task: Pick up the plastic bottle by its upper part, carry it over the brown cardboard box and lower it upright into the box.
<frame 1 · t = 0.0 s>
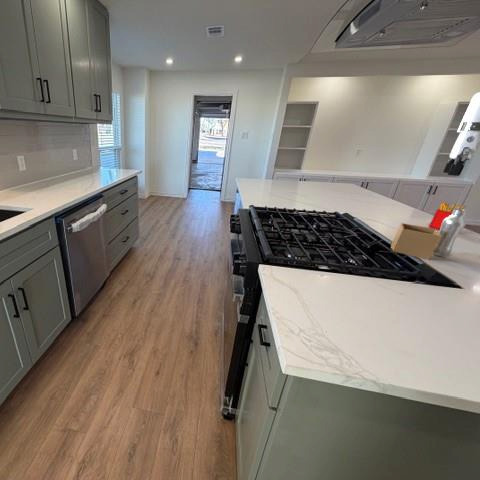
hand: (450, 174, 103), 33 cm above the countertop, tool pointing down, fingers open, 9 cm apart
bottle box: (407, 254, 108), on the countertop
french fries container: (440, 229, 140), on the countertop
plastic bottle: (436, 255, 109), on the countertop
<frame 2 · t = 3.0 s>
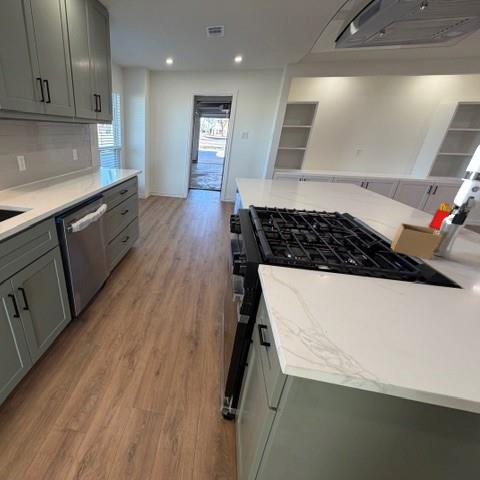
hand: (454, 221, 102), 15 cm above the countertop, tool pointing down, fingers closed on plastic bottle, 6 cm apart
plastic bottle: (436, 255, 109), on the countertop, touching gripper
everything else where it was.
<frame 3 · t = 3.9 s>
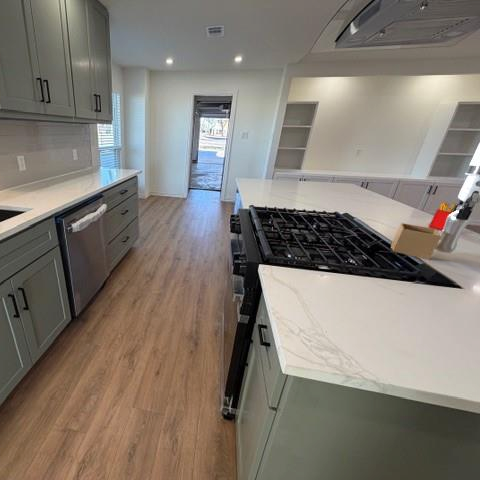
hand: (459, 217, 101), 17 cm above the countertop, tool pointing down, fingers closed on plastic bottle, 6 cm apart
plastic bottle: (441, 251, 107), point 2 cm above the countertop, touching gripper
everything else where it was.
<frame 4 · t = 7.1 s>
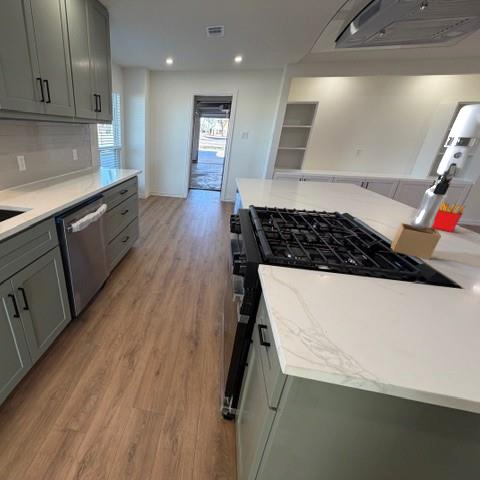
hand: (437, 192, 98), 27 cm above the countertop, tool pointing down, fingers closed on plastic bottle, 6 cm apart
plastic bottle: (418, 229, 104), point 11 cm above the countertop, touching gripper
everything else where it was.
when the fingers open (16 cm above the countertop, at t = 10.1 s): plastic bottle stays where it is, resting on bottle box.
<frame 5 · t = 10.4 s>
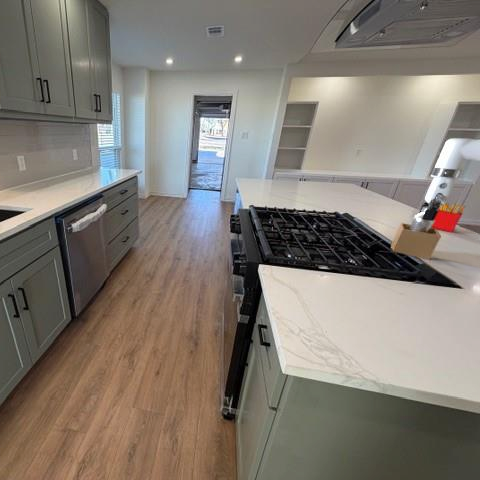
hand: (425, 217, 102), 17 cm above the countertop, tool pointing down, fingers open, 9 cm apart
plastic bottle: (407, 253, 108), resting on bottle box
everything else where it was.
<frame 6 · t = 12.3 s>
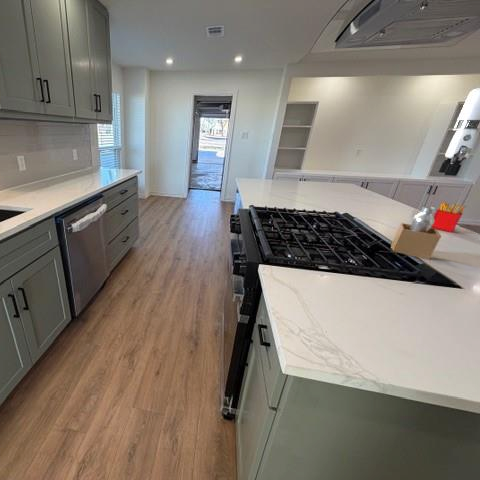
hand: (446, 174, 99), 33 cm above the countertop, tool pointing down, fingers open, 9 cm apart
nothing on the countertop moved.
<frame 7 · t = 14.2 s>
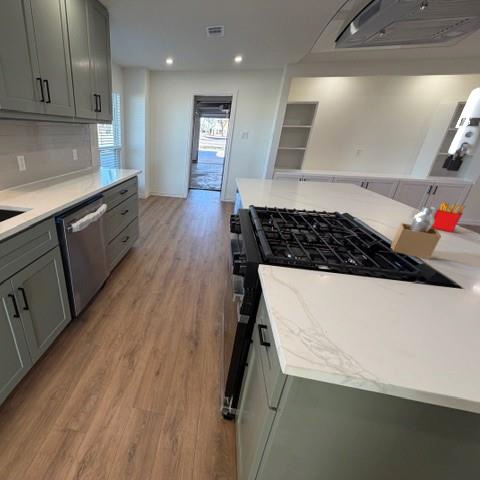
hand: (449, 169, 104), 34 cm above the countertop, tool pointing down, fingers open, 9 cm apart
nothing on the countertop moved.
at the end: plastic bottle 0.3 cm off-centre in the bottle box, point 0.3 cm above the bottle box's base; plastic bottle tilted 0°; the gripper is holding nothing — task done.
